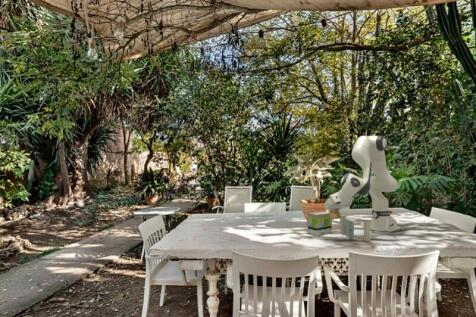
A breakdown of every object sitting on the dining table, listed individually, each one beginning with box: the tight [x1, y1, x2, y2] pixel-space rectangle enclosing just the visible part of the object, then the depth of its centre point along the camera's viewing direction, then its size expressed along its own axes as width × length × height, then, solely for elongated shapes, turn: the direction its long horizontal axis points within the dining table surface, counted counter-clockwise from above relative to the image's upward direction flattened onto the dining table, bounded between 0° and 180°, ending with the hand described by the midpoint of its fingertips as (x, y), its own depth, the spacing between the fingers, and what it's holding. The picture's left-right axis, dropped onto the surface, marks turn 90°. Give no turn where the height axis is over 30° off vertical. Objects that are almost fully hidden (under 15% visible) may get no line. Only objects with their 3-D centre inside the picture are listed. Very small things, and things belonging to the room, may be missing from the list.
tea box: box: [307, 210, 333, 236], centre depth 263 cm, size 15×10×15 cm, turn 126°
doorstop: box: [328, 208, 341, 221], centre depth 246 cm, size 4×5×8 cm
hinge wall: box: [339, 214, 347, 235], centre depth 260 cm, size 3×3×13 cm
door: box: [344, 217, 355, 240], centre depth 249 cm, size 17×3×11 cm, turn 0°
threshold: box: [354, 235, 364, 240], centre depth 249 cm, size 2×14×1 cm, turn 27°
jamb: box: [363, 219, 371, 242], centre depth 240 cm, size 3×3×13 cm
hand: (332, 210), depth 248 cm, fingers closed on doorstop, 5 cm apart
